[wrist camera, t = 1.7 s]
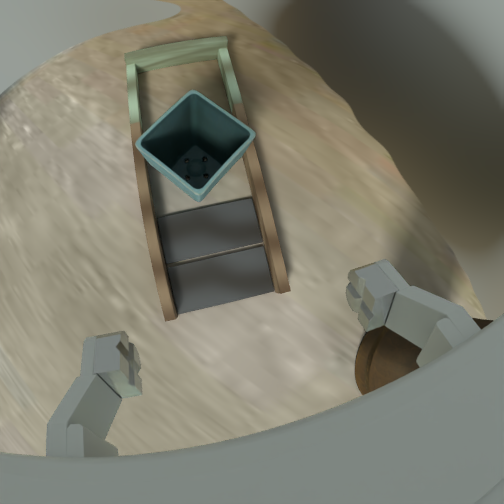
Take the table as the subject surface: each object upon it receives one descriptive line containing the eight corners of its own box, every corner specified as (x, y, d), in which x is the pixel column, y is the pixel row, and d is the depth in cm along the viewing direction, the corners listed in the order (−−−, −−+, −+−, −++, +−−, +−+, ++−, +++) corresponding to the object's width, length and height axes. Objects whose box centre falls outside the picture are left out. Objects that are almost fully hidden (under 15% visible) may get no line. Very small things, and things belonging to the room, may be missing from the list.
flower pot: (193, 125, 37) (192, 86, 28) (245, 164, 37) (258, 133, 29) (147, 173, 35) (132, 143, 26) (200, 217, 36) (199, 197, 27)
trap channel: (284, 290, 37) (294, 291, 33) (167, 318, 34) (163, 323, 30) (223, 53, 38) (226, 36, 34) (129, 69, 36) (124, 53, 32)
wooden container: (401, 415, 38) (499, 472, 16) (334, 383, 37) (442, 459, 15) (445, 334, 40) (555, 352, 19) (388, 289, 39) (519, 292, 17)
